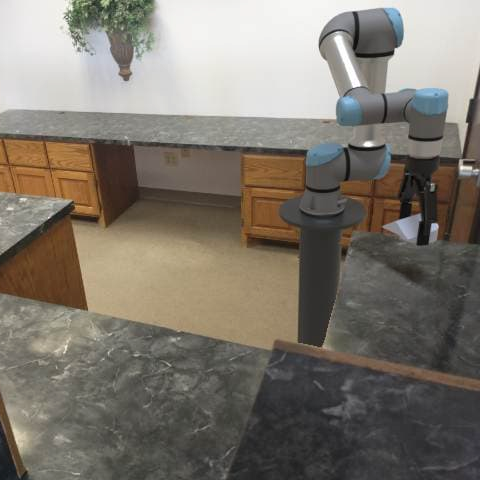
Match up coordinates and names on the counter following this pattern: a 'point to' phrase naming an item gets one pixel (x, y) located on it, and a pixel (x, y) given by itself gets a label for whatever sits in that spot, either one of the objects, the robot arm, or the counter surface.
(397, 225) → the wedge on round base
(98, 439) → the counter surface
